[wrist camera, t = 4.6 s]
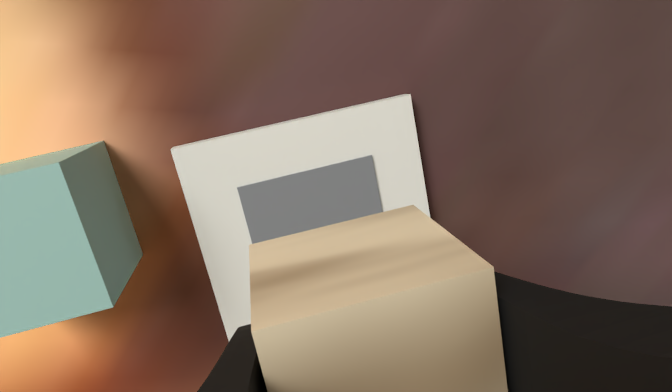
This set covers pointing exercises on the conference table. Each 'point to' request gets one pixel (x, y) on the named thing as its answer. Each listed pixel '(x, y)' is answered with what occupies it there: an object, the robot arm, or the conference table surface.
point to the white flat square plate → (295, 185)
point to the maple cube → (375, 309)
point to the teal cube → (62, 238)
